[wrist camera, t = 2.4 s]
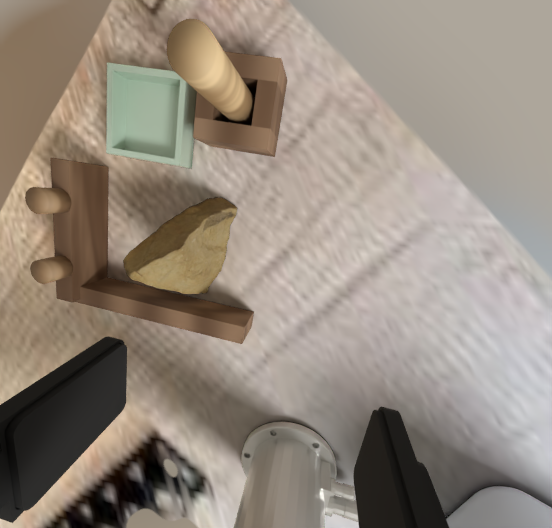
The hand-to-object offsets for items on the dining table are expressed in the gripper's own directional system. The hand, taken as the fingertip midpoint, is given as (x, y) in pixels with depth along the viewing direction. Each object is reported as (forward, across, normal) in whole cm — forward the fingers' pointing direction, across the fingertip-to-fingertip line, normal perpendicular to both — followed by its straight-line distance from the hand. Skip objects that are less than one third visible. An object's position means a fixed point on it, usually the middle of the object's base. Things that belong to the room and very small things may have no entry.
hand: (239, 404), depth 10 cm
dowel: (+21, +8, -14) cm, 27 cm away
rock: (+21, +10, 0) cm, 23 cm away
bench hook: (+21, +15, +1) cm, 25 cm away
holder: (+21, +8, -14) cm, 27 cm away
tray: (+21, +17, -12) cm, 30 cm away
